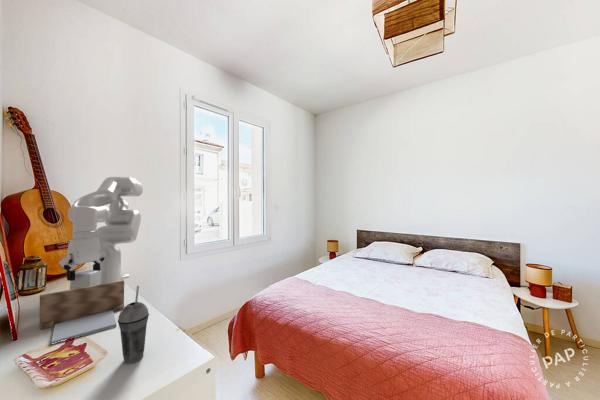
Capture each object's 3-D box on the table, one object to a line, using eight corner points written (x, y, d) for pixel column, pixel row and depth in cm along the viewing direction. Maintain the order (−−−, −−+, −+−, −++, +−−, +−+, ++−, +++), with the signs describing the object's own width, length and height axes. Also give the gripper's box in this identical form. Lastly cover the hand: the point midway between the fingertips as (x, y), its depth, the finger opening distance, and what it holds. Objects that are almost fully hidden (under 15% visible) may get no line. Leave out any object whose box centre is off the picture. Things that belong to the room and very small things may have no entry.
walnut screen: (122, 304, 103) (122, 278, 103) (124, 308, 98) (124, 282, 98) (40, 323, 87) (40, 293, 87) (38, 330, 82) (38, 298, 82)
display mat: (112, 312, 95) (112, 310, 95) (116, 326, 85) (116, 323, 85) (55, 327, 84) (55, 324, 84) (51, 344, 74) (51, 341, 74)
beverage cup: (111, 363, 65) (111, 290, 65) (137, 348, 72) (137, 281, 72) (129, 370, 63) (129, 293, 63) (155, 353, 70) (155, 284, 70)
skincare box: (68, 310, 97) (68, 273, 97) (81, 304, 103) (81, 269, 103) (89, 310, 98) (89, 273, 98) (101, 303, 104) (101, 269, 104)
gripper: (99, 233, 110) (98, 271, 109) (53, 238, 93) (52, 282, 92) (112, 233, 108) (112, 271, 107) (68, 238, 91) (67, 284, 91)
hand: (84, 276), depth 100 cm, fingers open, 9 cm apart
